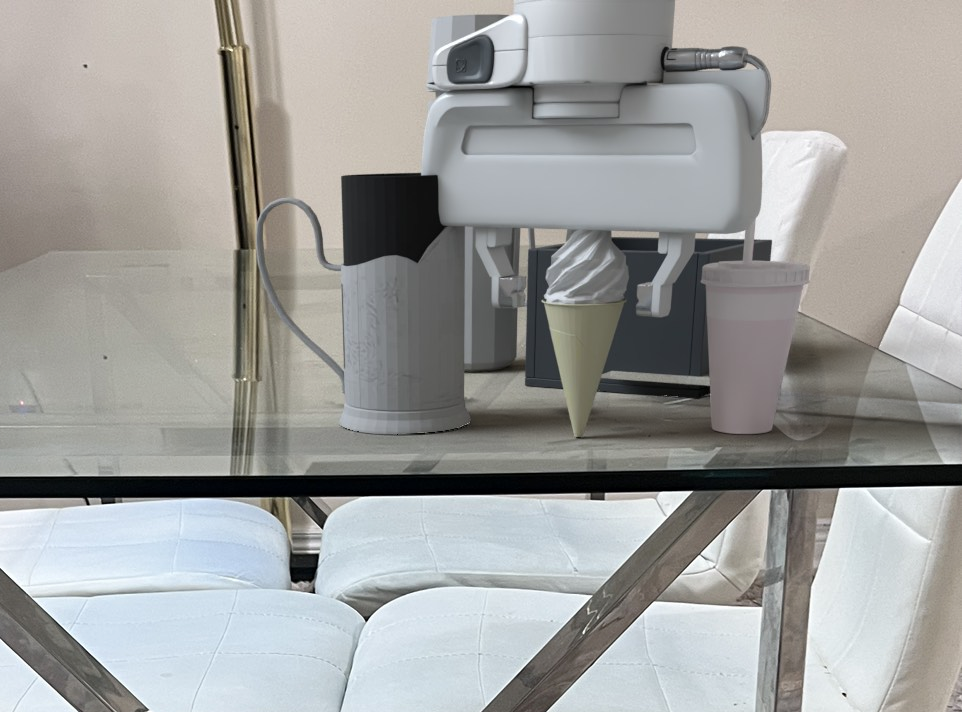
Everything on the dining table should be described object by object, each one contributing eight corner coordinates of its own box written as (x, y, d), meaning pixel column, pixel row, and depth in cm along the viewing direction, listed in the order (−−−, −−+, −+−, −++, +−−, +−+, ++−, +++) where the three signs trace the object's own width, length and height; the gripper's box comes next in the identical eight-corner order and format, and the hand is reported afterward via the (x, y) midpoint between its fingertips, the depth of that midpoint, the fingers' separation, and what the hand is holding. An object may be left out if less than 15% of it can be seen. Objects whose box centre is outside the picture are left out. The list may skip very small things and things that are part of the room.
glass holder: (452, 436, 87) (453, 175, 81) (241, 428, 91) (226, 178, 85) (484, 412, 95) (487, 171, 89) (288, 405, 99) (277, 174, 93)
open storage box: (760, 371, 109) (772, 239, 105) (698, 398, 98) (709, 253, 94) (598, 361, 115) (604, 236, 111) (524, 385, 105) (527, 248, 101)
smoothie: (714, 415, 92) (732, 185, 86) (809, 424, 89) (835, 185, 83) (673, 432, 87) (689, 189, 82) (772, 442, 84) (796, 189, 78)
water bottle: (408, 369, 113) (404, 18, 103) (459, 357, 119) (461, 23, 108) (507, 378, 108) (514, 10, 98) (555, 364, 114) (567, 16, 104)
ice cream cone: (610, 447, 84) (624, 173, 77) (528, 442, 85) (535, 174, 79) (627, 431, 88) (641, 171, 82) (548, 427, 90) (556, 172, 83)
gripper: (793, 46, 75) (765, 315, 81) (460, 59, 85) (457, 298, 91) (755, 41, 70) (728, 328, 76) (407, 55, 80) (407, 307, 86)
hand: (578, 311), depth 84 cm, fingers open, 8 cm apart
